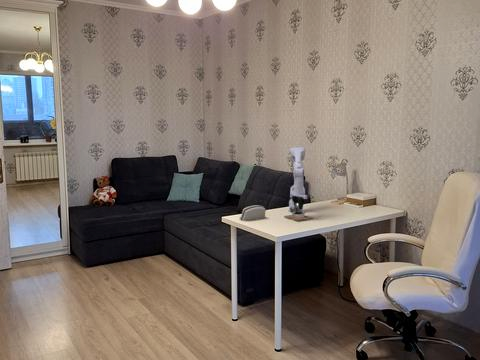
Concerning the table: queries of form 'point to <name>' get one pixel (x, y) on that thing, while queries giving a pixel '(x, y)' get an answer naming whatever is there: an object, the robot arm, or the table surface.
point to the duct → (298, 217)
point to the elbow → (296, 209)
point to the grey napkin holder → (253, 213)
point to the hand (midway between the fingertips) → (298, 208)
